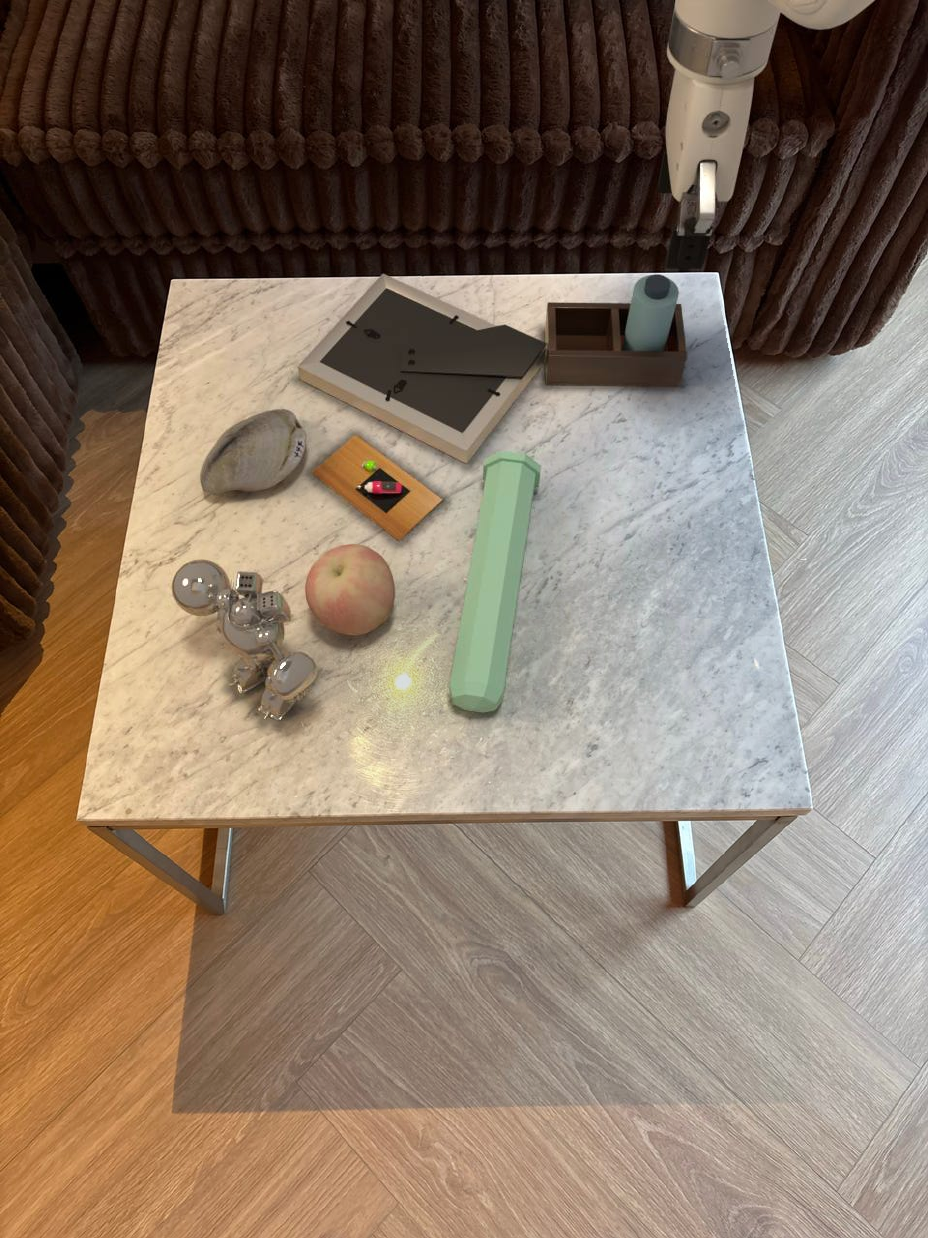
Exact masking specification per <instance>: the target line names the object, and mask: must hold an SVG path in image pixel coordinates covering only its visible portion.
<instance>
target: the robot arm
mask: <svg viewBox="0 0 928 1238" xmlns="http://www.w3.org/2000/svg"><path fill="white" fill-rule="evenodd" d="M875 1H876V0H674V6H673V13H672V17H671V24H670V28H669V29H670V30H669V35H668V41H667V47H666V56H667V59H668V61H669V63H670V64H671V65H672V67H673V68H674V74H673V79H672V84H671V89H670V95H669V99H668V107H667V114H666V122H665V146H666V149H664V151H663V155H662V161H661V166H660V172H659V177H658V183H657V192H658V193H660V194H671V195H672V196H673V198H674V199H675V200H676V201H677V202H678V209H677V221H676V226H672V229H671V232H670V233H671V235H670V238H669V244H668V248H667V253H666V258H665V267H666V268H667V269H669V270H698V269H702V268H703V267H704V263H705V260H706V257H707V256H706V255H707V251H708V248H709V245H710V241H711V236H712V233H713V229H714V221H715V219H716V218H715V217H716V199H717V202H718V203H719V202H720V203H721V202H722V203H727V202H729V201H730V200H731V199H732V197H733V195H734V191H735V186H736V182H737V178H738V174H739V168H740V163H741V159H742V156H743V155H742V154H743V149H744V145H745V140H746V135H747V130H748V126H749V120H750V114H751V110H752V109H751V108H752V102H753V93H754V86H755V85H754V84H755V77H757V76H759V74H760V73H761V72H763V71H764V69H765V68H766V66H767V64H768V61H769V57H770V54H771V49H772V46H773V42H774V38H775V35H776V31H777V27H778V23H779V20H780V16H781V14H782V15H784V16H785V17H786V18H787V19H789V20H790V21H792V22H794V23H795V24H797V25H799V26H801V27H803V28H806V29H812V30H830V29H833V28H836V27H839V26H841V25H844V24H845V23H847V22H849V21H850V20H852V19H853V18H855V17H856V16H857V15H858V14H860V13H862V12H863V11H864V10H865V9H866V8H868V6H870V5H871V4H872V3H873V2H875ZM695 185H696V192H693V191H694V187H695ZM688 203H696V208H695V212H694V216H693V217H692V216H691V217H688V218H687V215H688V205H689V204H688Z"/></svg>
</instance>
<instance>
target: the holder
mask: <svg viewBox="0 0 928 1238" xmlns="http://www.w3.org/2000/svg"><path fill="white" fill-rule="evenodd" d="M630 305H631V302H558V301H557V302H556V301H555V302H554V301H552V302H551V301H549V302H547V304H546V313H545V324H544V342H545V343H547V344H546V346H545V347H544V348H546V354H545V362H544V365H545V366H544V367H545V369H544V370H545V386H593V387H594V386H599V387H600V386H601V387H607V386H608V387H670V388H672V387H674V388H676V387H678V388H679V387H680V384H681V381H682V378H683V374H684V372H685V368H686V364H687V360H688V352H687V343H686V334H685V326H684V325H685V324H684V315H683V308H682V303H676V307H675V311H674V315H673V318H672V322H671V326H670V330H669V334H668V338H667V342H666V346H665V350H664V351H621V349H622V344H623V339H624V334H625V329H626V325H627V320H628V315H629V310H630Z"/></svg>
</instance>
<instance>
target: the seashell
mask: <svg viewBox="0 0 928 1238" xmlns="http://www.w3.org/2000/svg"><path fill="white" fill-rule="evenodd" d="M307 439H308V436H307V433H306V431H305V429H304V427H303V425H302V424H301V423H300V420H299V419H298V418H297V416H296V414H295V413H294V412H293V411H291V410H290V409H284V408H281V409H280V408H277V409H272V410H266V411H262V412H260V413H259V412H258V413H257V414H254V415H251V416H250V417H247V418H245V419H243V420H240V421H238V422H237V423H235V424H233V425H232V426H230V427H229V428H227V429H226V430H225V431H224V432H223V433H222V434H221V435H220V437H219V438H218V439H217V440H216V442H215V443H214V445H213V446H212V447H211V449H210V451H209V452H208V453H207V454H206V457H205V458H204V460H203V463H202V466H201V469H200V473H199V474H200V475H199V481H200V486H201V489H202V491H203V492H205V493H207V494H210V495H213V496H219V495H221V494H223V493H227V492H229V491H235V490H236V491H237V490H239V491H242V492H257V491H263V490H267V489H270V488H272V487H274V486H276V485H278V484H280V483H281V482H282V481H283V480H285V479H286V478H287V477H288V476H289V475H290V474H291V473H293V472H294V471H295V469H296V468H297V466H298V465H299V463H300V462H301V460H302V458H303V456H304V452H305V450H306V443H307Z"/></svg>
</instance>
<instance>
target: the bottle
mask: <svg viewBox="0 0 928 1238" xmlns="http://www.w3.org/2000/svg"><path fill="white" fill-rule="evenodd" d="M679 293H680V291H679V287H678V286H677V284H676V282H674V281H673V280H672V279H671V278H669V277H667V276H665V275H663V274H659V273H658V274H657V273H654V274H649V275H645V276H643V277H640V278H639V279H638V280H637V281H636V282H635V284H634V286H633V290H632V294H631V300H630V303H631V305H630V310H629V315H628V320H627V325H626V329H625V334H624V339H623V344H622V349H621V351H664V350H665V346H666V342H667V338H668V334H669V330H670V326H671V322H672V318H673V315H674V311H675V307H676V304H678V303H677V302H678V299H679Z"/></svg>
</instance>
